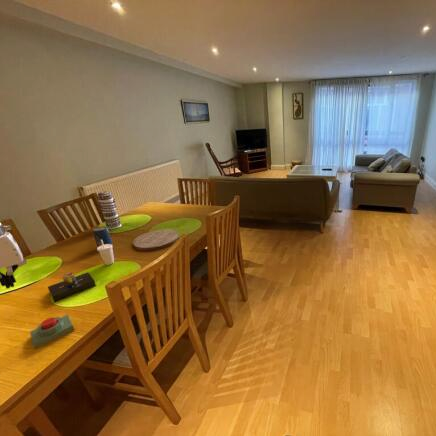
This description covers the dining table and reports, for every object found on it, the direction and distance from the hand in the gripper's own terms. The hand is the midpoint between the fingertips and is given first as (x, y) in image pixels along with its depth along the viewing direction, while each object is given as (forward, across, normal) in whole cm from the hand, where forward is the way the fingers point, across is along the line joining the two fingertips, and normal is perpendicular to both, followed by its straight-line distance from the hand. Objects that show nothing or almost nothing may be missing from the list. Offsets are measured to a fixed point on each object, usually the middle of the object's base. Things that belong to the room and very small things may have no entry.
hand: (10, 285), depth 76 cm
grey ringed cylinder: (+19, -46, -85) cm, 99 cm away
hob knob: (+17, -14, -20) cm, 30 cm away
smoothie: (+20, -31, -32) cm, 49 cm away
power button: (+17, -5, +5) cm, 18 cm away
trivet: (+19, -58, -40) cm, 73 cm away
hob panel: (+20, -14, -20) cm, 31 cm away
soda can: (+20, -34, -55) cm, 67 cm away
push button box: (+20, -5, +5) cm, 21 cm away
